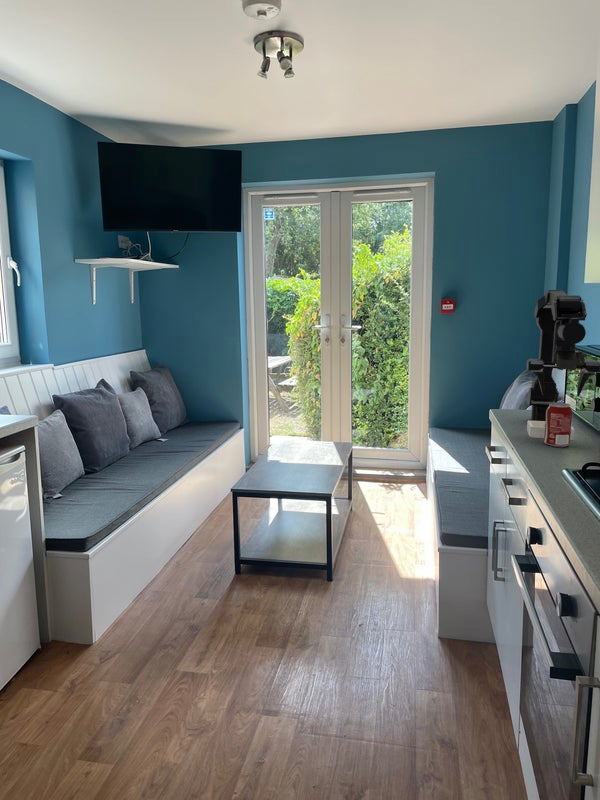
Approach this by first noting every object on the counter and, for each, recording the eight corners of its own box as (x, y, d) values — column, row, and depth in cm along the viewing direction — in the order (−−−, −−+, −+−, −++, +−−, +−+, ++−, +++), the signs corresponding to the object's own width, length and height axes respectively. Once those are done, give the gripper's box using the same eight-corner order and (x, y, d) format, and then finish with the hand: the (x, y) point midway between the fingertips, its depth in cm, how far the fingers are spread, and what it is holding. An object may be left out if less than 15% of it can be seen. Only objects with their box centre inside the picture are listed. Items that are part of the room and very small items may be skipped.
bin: (526, 431, 182) (527, 420, 182) (568, 433, 179) (568, 422, 178) (529, 438, 174) (530, 426, 173) (573, 440, 171) (574, 429, 170)
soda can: (572, 449, 162) (575, 407, 159) (546, 447, 163) (549, 406, 161) (566, 442, 168) (569, 402, 166) (541, 441, 169) (544, 401, 167)
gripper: (531, 342, 157) (528, 399, 160) (607, 343, 152) (602, 402, 155) (528, 339, 168) (524, 392, 170) (599, 340, 162) (594, 394, 165)
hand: (560, 395), depth 165 cm, fingers open, 9 cm apart
